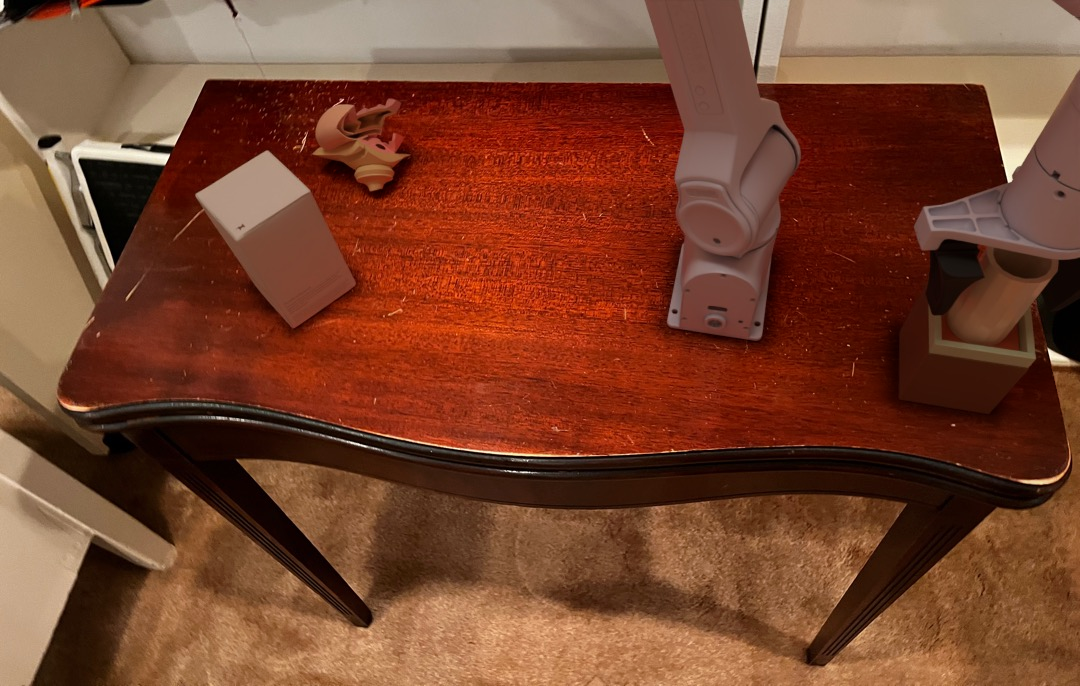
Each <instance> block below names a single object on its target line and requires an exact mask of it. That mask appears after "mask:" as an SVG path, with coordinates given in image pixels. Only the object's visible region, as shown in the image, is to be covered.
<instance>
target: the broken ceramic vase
mask: <svg viewBox="0 0 1080 686" xmlns="http://www.w3.org/2000/svg"><path fill="white" fill-rule="evenodd" d="M401 105H402V102H400V101H399V100H397V99H394V98H388V99H387V100H386V103H385V105H384V104H381V103H378V104H377V105H376V106H373V107H370V108H367V107H363V108H361V109H360V110H359V111H358V112H357V110H356V107H355V104H347V103H346V104H344V103H343V104H337V105H333V106H332V107H330V108H328V109H326V111H325V112H324V113H323V114H322V115H321V116H320V118H319V120H318V122H317V124H316V128H315V139H316V140H315V141H316V142H317V143H318V145H319V146H320V147H318V148H317V149H316V150H315V151H313V153H312V155H313V156H315V157H318V158H322V159H327V160H332V161H336V162H340V163H341V162H342V163H344V164H345V165H347V166H348V167H349V168H351V169H352V170H355V172H354V174H353V177H354V178H355V179H356V182H357V183H359V184H364V185H365V186H366V187H367V189H368V191H369V192H376V191H378V190H382V189H383V188H384V186H385V184H386V183H388V182H391V181H392V180H394V176H395V171H394V170H393V168H394V167H396V166H397V165H398V164H399V163H400V162H401V161H402V160H403V159H406V158H408V157H410V156H411V154H408V153H397V151H398V150H399V148H400V146H401V144H402V143H403V141H404V137H403V136H402V135H401V134H400V133H397V132H393V133H392V137H391V140H389V141H388V143H387V142H385V141H384V142H382V141H381V139H380V138H378V135H379V136H381V135H382V131H383V128H384V124H385V119H386V118H388V117H390V116H392V115H395V114H397V113H398V111H399V110H400V108H401Z"/></svg>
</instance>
